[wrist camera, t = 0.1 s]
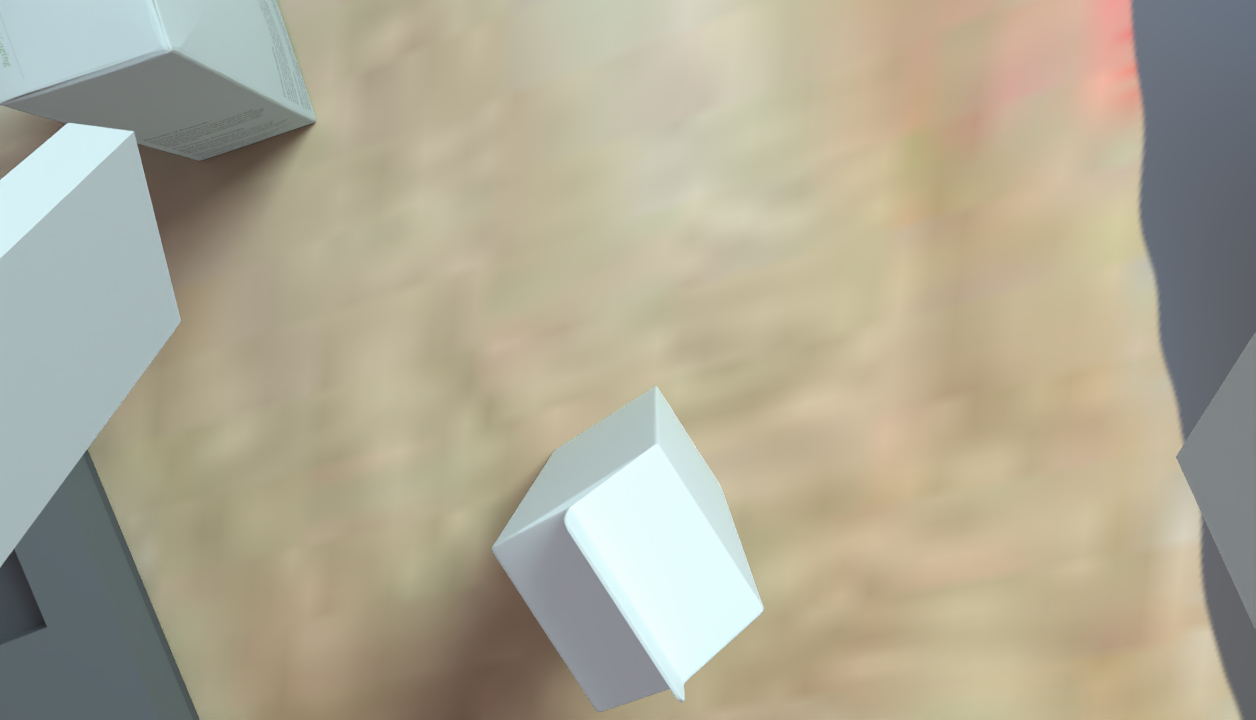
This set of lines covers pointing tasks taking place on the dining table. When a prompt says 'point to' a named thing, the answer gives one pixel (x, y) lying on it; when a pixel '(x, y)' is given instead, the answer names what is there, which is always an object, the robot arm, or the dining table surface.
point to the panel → (82, 619)
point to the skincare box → (156, 69)
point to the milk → (630, 556)
